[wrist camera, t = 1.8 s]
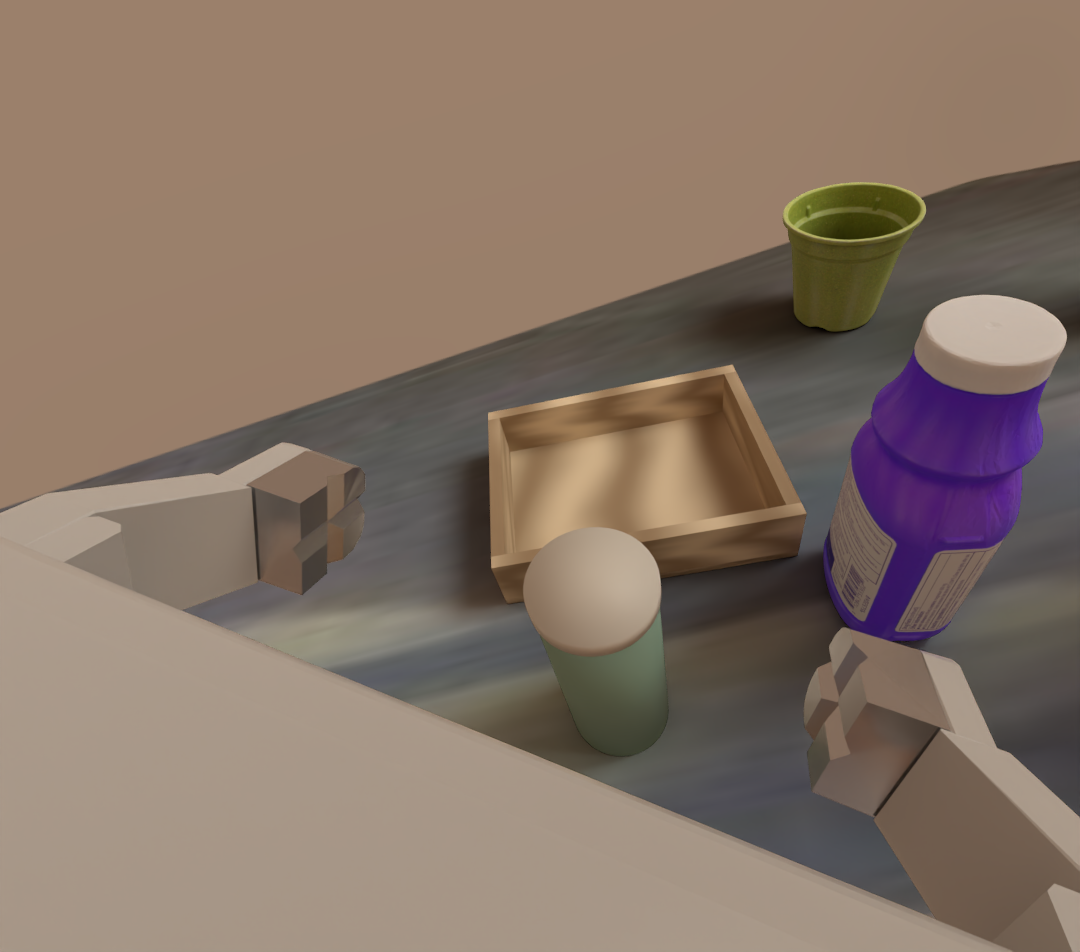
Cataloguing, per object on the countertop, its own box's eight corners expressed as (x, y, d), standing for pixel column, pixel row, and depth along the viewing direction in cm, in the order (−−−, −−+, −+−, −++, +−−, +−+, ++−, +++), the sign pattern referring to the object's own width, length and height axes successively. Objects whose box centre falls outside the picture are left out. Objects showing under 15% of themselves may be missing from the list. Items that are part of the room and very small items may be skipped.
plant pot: (754, 298, 53) (762, 201, 47) (858, 271, 53) (880, 170, 47) (802, 357, 47) (819, 253, 40) (921, 327, 46) (956, 218, 40)
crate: (729, 407, 44) (732, 364, 41) (797, 555, 35) (806, 513, 32) (501, 451, 46) (488, 412, 43) (507, 604, 37) (491, 568, 34)
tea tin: (658, 652, 33) (645, 517, 24) (681, 750, 29) (674, 633, 20) (566, 666, 33) (519, 539, 24) (576, 765, 30) (526, 657, 21)
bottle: (962, 655, 30) (1159, 383, 17) (839, 656, 31) (940, 402, 18) (912, 537, 34) (1037, 257, 22) (808, 542, 35) (870, 278, 23)
